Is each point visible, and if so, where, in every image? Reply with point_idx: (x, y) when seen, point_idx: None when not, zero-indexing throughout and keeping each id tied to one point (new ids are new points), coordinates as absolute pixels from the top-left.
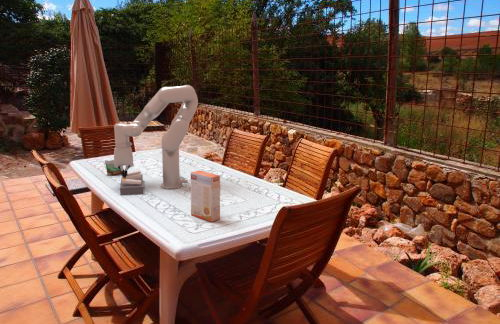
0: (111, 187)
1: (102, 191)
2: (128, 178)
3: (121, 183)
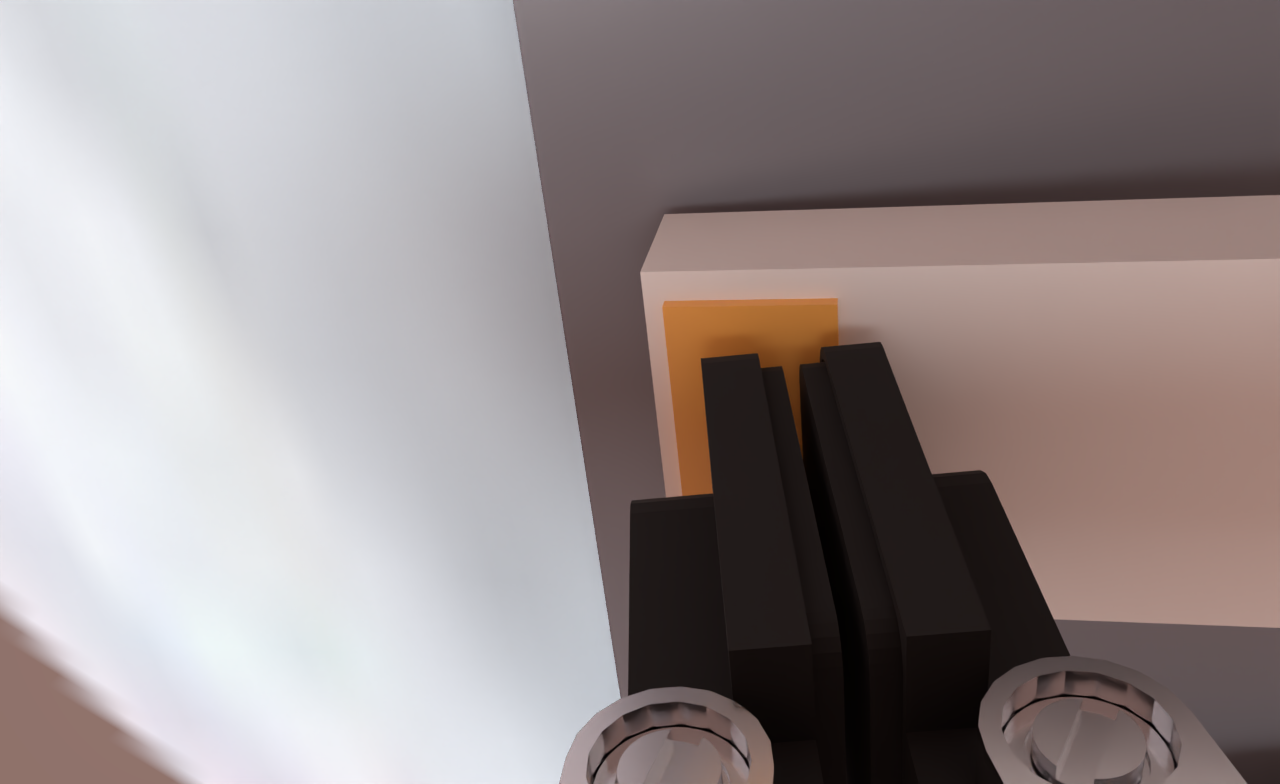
0: (145, 99)
1: (25, 555)
2: None
3: None
